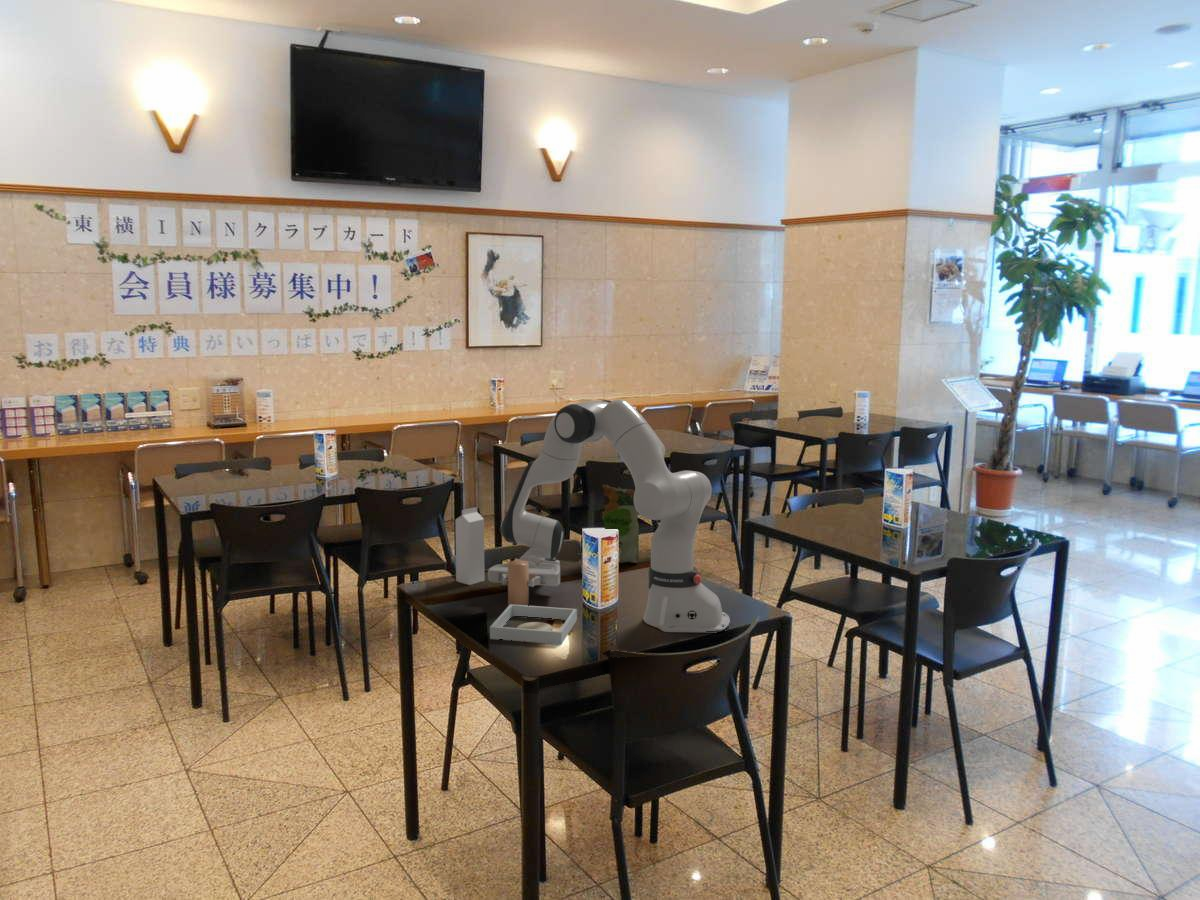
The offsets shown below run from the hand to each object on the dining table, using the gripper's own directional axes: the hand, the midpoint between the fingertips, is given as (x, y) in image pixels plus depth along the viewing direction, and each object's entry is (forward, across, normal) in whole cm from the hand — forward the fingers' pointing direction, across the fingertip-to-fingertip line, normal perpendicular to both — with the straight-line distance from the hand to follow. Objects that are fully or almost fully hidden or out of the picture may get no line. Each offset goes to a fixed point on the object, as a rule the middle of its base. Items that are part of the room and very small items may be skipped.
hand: (517, 583), depth 251 cm
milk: (-20, -20, +7) cm, 29 cm away
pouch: (-50, +20, +7) cm, 54 cm away
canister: (-1, 0, +7) cm, 7 cm away
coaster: (+16, +9, +7) cm, 20 cm away
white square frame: (+16, +9, +7) cm, 20 cm away
